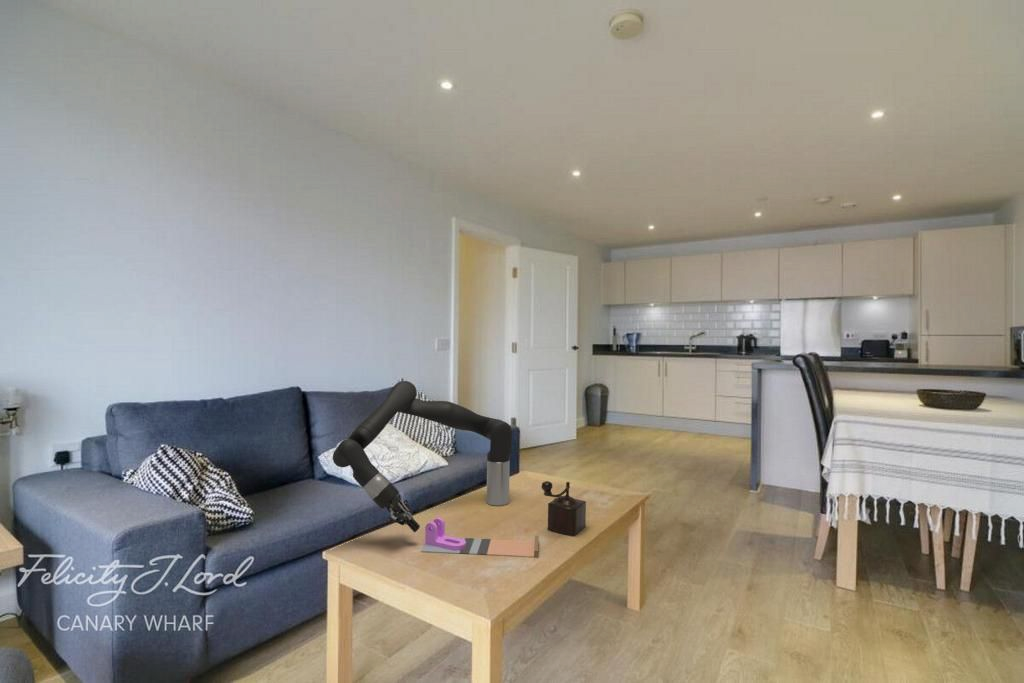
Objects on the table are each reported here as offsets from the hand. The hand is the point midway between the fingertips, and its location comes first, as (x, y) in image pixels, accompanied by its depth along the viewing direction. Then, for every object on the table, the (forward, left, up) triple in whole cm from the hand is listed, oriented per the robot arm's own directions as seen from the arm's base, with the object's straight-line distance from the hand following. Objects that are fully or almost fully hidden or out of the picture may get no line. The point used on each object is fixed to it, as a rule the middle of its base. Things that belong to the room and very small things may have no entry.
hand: (417, 529), depth 153 cm
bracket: (0, +10, -5) cm, 11 cm away
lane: (0, +22, -5) cm, 22 cm away
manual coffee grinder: (-16, +47, -5) cm, 50 cm away
